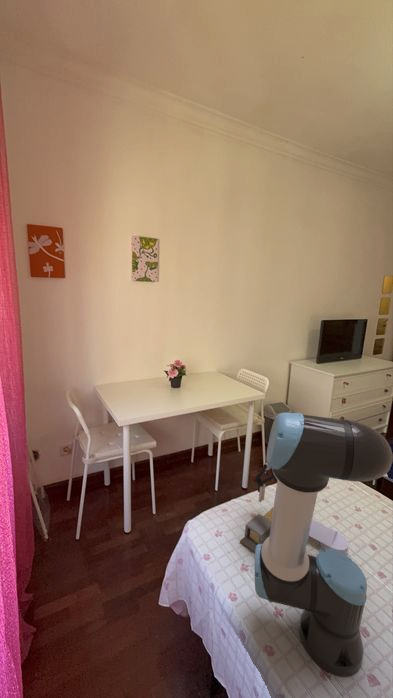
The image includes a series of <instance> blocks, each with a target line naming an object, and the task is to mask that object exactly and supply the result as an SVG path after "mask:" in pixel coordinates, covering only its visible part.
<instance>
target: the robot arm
mask: <svg viewBox="0 0 393 698" xmlns="http://www.w3.org/2000/svg"><path fill="white" fill-rule="evenodd" d="M390 445H391V444H389V442H388V441H387V439H386V437H384V436H383V435H382V434H381V433H380V432H379V431H377V430H376V429H374V428H373V427H371V426H369V425H367V424H364V423H362V422H359V421H355V420H351V419H350V420H349V419H340V418H334V417H326V416H325V417H324V416H318V415H309V414H303V413H301V412H294V413H293V412H280V413H278V415H276V417H275V418H274V420H273V422H272V426H271V429H270V433H269V439H268V443H267V448H266V463H264V464H263V466H262V469H261V471H260V472H258V474H257V476H255V478H254V482H255V483H257V492H258V493H259V494H258V502H259V503H261V502H262V501H264V500H265V493H266V483H268V482H270V481H272V480H273V479H274V482H276V489H275V495H274V500H273V501H274V504H273V507H274V508H273V507H272V508H273V515H272V522H271V530H270V536H269V537H268V538H267V539H266V540H265V541H264V543H263V544H258V545H257V546H256V550H255V554H254V589H255V593H256V595H257V596H258V598H260V599H263V600H266V601H268V602H269V603H275V604H280V605H283V606H288V607H290V608H296V609H299V610H303V611H302V614H301V616H300V618H299V619H300V621H299V625H298V627H299V629H298V632H299V638H300V641H301V644H302V646H303V647H304V650H305V651H306V653H307V655H308V656H309V657H310V658H311V660H312V661H313V662H315V664H316V665H317V666H318V667H320V668H321V669H322V670H324V671H326V672H328V673H329V674H331V675H334V676H338V677H349V676H352V675H354V674H356V673H357V672H359V670H360V668H361V666H362V662H363V658H364V643H363V638H362V635H361V630H360V628H361V622H362V619H363V618H362V617H363V613H364V609H365V604H366V602H367V597H368V596H367V590H368V583H367V579H366V577H365V576H366V575H365V574H364V572H363V570H362V569H361V568H360V566H359V565H358V564H357V563H356V562H354V561H353V560H352V559H353V558H351V557H349V556H348V555H345V554H343V553H341V552H339V551H336V550H333V549H324V550H320V551H319V552H318V554H317V555H316V556H314V555H310V554H308V553H307V550H306V549H307V545H308V541H309V537H310V536H309V531H310V527H311V522H312V520H313V517H314V516H313V515H314V511H315V507H316V502H317V497H318V493H319V492H322V491H323V490H324V489H325V488H327V486H328V484H329V480H330V479H335V480H341V481H347V482H357V483H358V482H362V483H363V482H369V481H375V480H378V479H380V478H382V477H384V476H386V475H387V473H388V472H389V471H390V470H391V467H392V464H393V452H392V451H393V450H392V447H391V446H390ZM267 471H270V475H268V476H266V477H265V478H263V477H264V475H265V474H266V473H267ZM262 478H263V479H262Z"/></svg>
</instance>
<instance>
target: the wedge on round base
mask: <svg viewBox="0 0 393 698" xmlns="http://www.w3.org/2000/svg"><path fill="white" fill-rule="evenodd" d="M308 537H310V538H312V539H314V540H316V541H318V542H319V547H320V548H321V551H323V550H324V549H333V550H336V551H339V552H341V553H343V554H345V555H346V556H348V549H349V542H348V539H347V538H346V536H344V535H343V534H342V533H340V532H339V531H337V530H335V529H333V528H331V527H329V526H326V525H325V524H323V523H321V522H319V521H317V520H315V519H312V522H311V527H310V531H309V536H308Z"/></svg>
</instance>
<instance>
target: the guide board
mask: <svg viewBox="0 0 393 698" xmlns="http://www.w3.org/2000/svg"><path fill="white" fill-rule="evenodd" d="M244 528H245V529H244V537H242V538H241V539H240V540H239V544H240V545H242V546H244V547H245V548H246V549H248V550H249V551H251V552H252V553H253V554H254V555H255V550H256V546H257V545H258V544H263V543H264V541H265V540H266V539H267V538H268V537H269V536H270V530H271V521H270V520H268V519H267V518H265V517H264V515H262V514H260V513H257V514H255V516H254V517H253V518H251V519H250V520H249V521H248V522H247V523H246V524H245V527H244ZM250 529H251V530H252V531H253V532H255V533H256V534H258V535H259V543H257V542H255V541H254V540H252V539H251V538H250V537H249V535H250Z"/></svg>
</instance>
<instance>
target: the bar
mask: <svg viewBox="0 0 393 698" xmlns="http://www.w3.org/2000/svg"><path fill="white" fill-rule="evenodd" d="M273 508H274V506H273V507H272V508H270V509H269V511H267V512H266V513H265V514H264V515H263V516H264V517H265V518H267V519H268V520H270V521H271V522H272V515H273ZM249 537H250V538H251V539H252V540H254V541H255V542H257V543H259V535H258V534H256V533H255V532H253V531H252V530H251V529H250V535H249Z"/></svg>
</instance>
